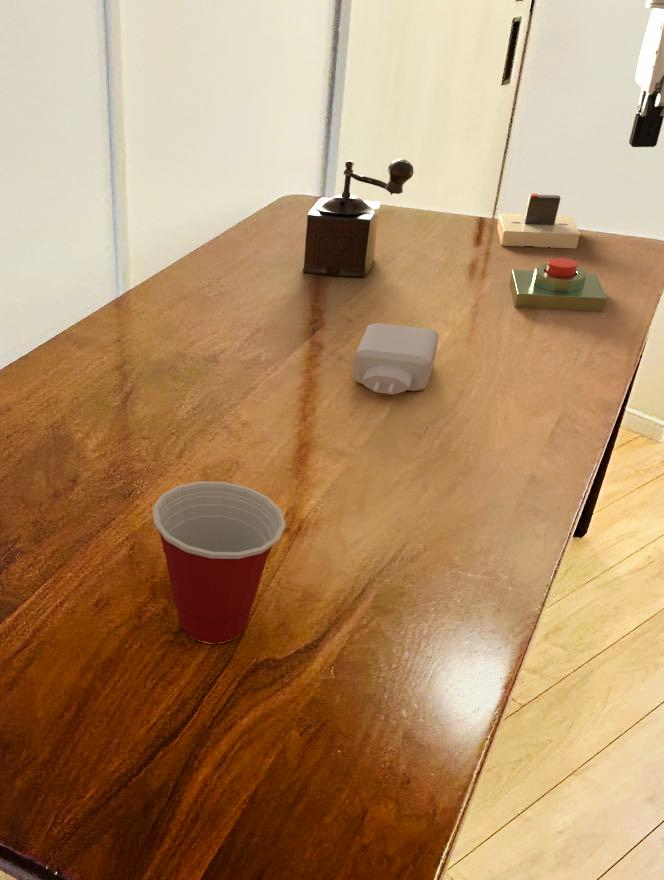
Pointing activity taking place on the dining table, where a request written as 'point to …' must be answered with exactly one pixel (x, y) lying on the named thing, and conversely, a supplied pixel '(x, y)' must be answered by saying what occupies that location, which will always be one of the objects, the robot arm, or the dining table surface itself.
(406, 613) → the dining table surface
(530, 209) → the upright dark panel
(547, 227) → the cream slotted base block
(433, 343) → the charger
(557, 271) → the button
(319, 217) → the manual coffee grinder
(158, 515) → the plastic cup
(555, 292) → the control block
